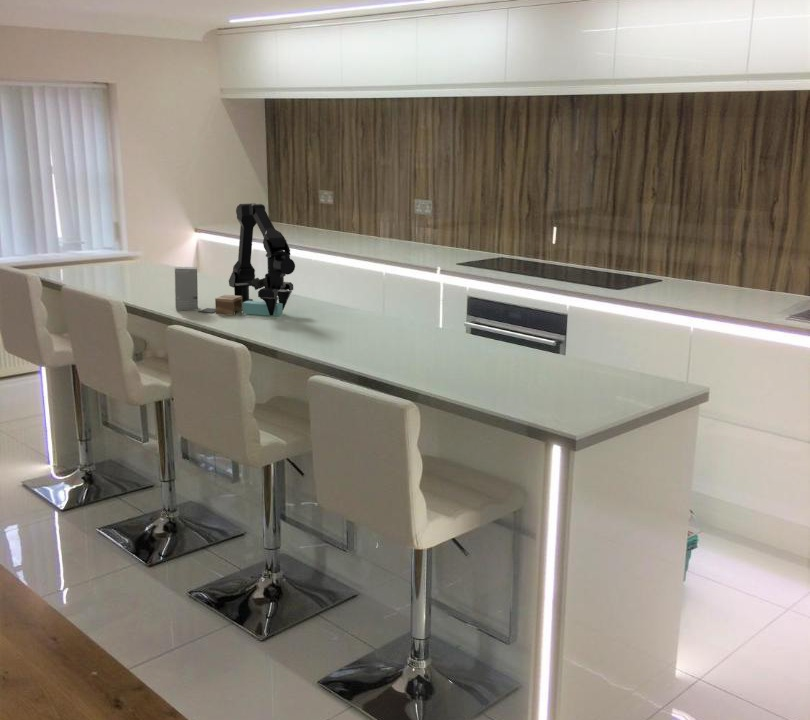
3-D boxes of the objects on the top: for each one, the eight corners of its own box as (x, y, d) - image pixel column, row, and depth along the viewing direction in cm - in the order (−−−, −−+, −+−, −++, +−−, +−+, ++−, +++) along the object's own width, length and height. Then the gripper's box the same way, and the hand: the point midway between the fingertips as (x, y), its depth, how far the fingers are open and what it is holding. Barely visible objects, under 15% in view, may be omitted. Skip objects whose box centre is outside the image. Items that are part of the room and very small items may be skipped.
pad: (252, 311, 335) (252, 311, 335) (284, 314, 331) (284, 313, 331) (243, 316, 327) (243, 315, 327) (276, 318, 324) (276, 318, 324)
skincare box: (176, 311, 334) (173, 268, 330) (175, 307, 341) (173, 266, 337) (199, 310, 336) (197, 268, 332) (198, 306, 343) (196, 265, 339)
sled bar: (247, 311, 333) (247, 300, 332) (282, 313, 330) (282, 303, 329) (242, 313, 329) (242, 302, 328) (277, 316, 326) (277, 305, 325)
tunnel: (225, 309, 338) (225, 294, 336) (242, 311, 336) (242, 295, 334) (215, 313, 330) (215, 298, 329) (233, 315, 328) (232, 299, 327)
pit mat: (207, 308, 339) (207, 307, 339) (221, 309, 338) (221, 309, 338) (198, 312, 333) (198, 311, 333) (212, 313, 331) (212, 312, 331)
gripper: (265, 265, 335) (266, 306, 339) (243, 273, 317) (245, 316, 321) (293, 267, 332) (294, 308, 336) (273, 275, 314) (273, 318, 318)
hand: (276, 312), depth 328 cm, fingers open, 9 cm apart
